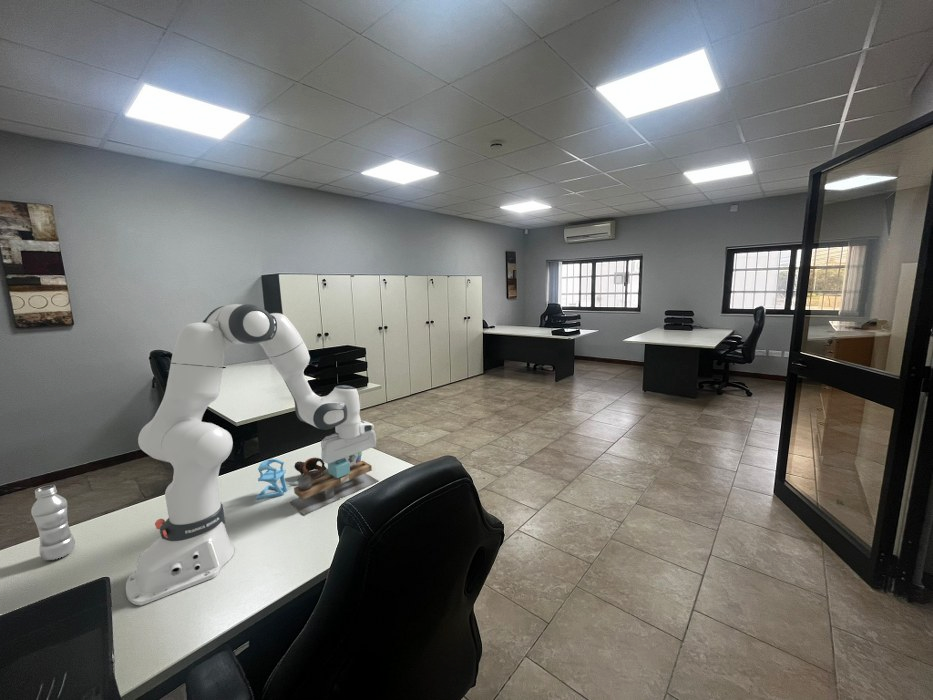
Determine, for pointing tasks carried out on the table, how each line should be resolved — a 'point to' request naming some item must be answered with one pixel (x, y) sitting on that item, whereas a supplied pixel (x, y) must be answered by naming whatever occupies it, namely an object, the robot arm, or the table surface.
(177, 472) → the robot arm
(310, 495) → the brown wooden bench
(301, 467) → the pottery mug
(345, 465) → the block
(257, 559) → the table surface
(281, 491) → the chair
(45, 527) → the plastic bottle
